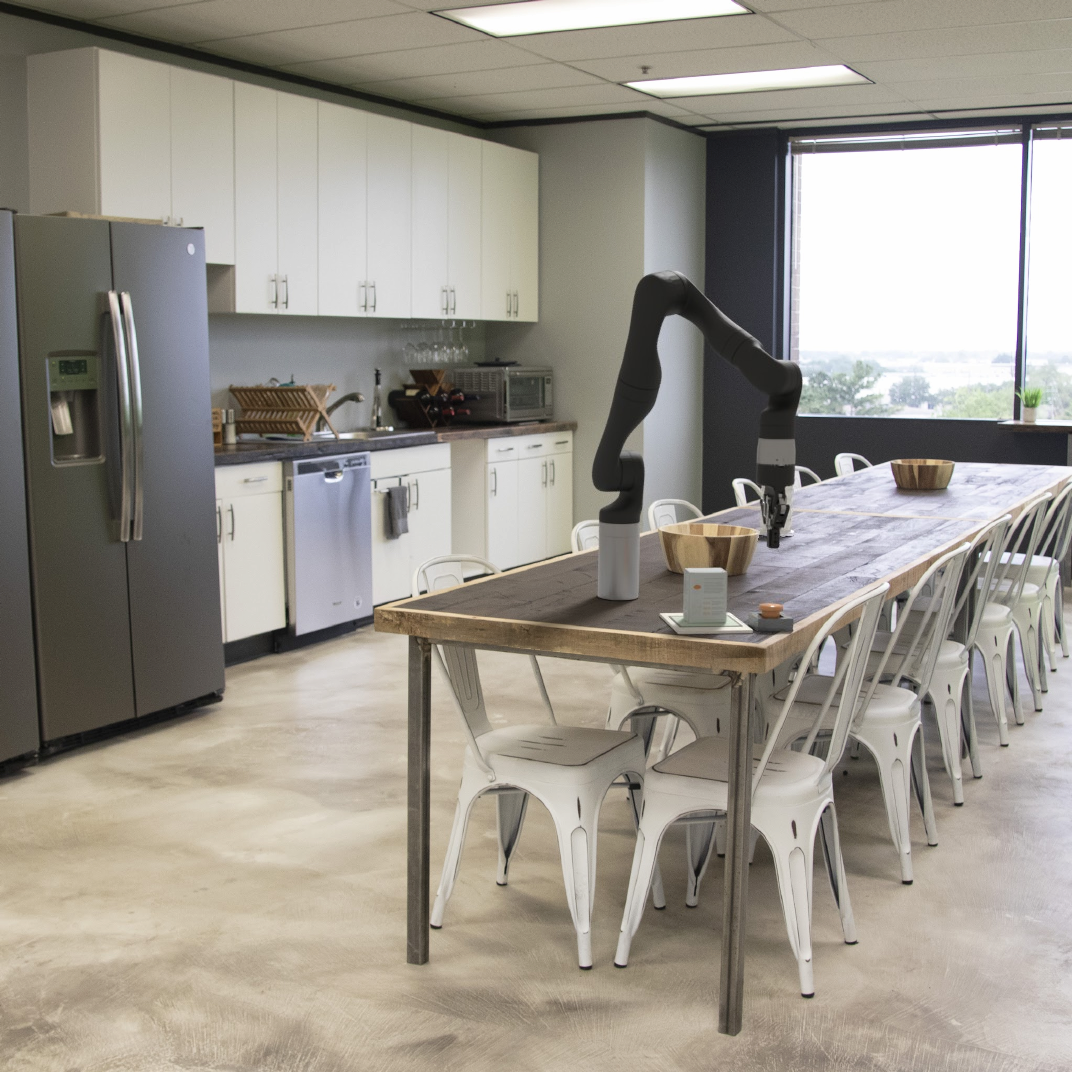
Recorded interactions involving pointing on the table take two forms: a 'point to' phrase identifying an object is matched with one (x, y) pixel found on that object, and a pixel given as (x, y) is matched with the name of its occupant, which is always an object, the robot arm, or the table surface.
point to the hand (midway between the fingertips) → (772, 547)
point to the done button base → (770, 622)
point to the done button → (770, 610)
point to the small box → (705, 595)
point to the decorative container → (788, 523)
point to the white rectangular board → (705, 625)
